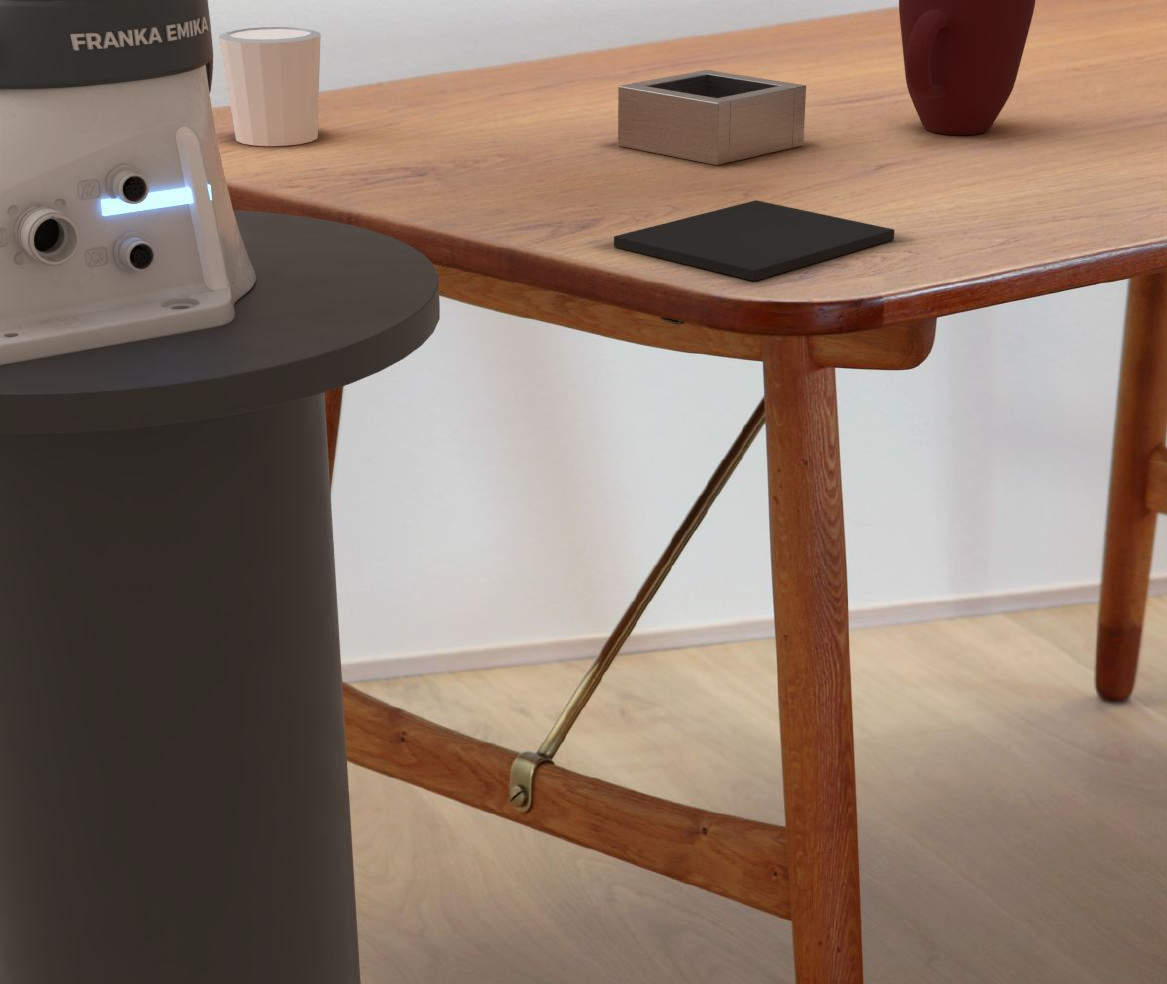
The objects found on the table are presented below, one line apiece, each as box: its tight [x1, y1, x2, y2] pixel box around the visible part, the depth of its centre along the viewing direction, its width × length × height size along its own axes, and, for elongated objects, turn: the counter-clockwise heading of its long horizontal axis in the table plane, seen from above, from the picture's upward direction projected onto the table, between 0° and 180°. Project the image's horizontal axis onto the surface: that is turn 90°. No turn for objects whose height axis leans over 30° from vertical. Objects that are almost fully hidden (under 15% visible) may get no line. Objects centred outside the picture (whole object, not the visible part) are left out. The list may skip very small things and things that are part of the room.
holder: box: [617, 69, 807, 166], centre depth 126 cm, size 9×9×4 cm
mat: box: [613, 199, 896, 282], centre depth 103 cm, size 12×10×1 cm
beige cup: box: [218, 26, 322, 147], centre depth 128 cm, size 7×7×7 cm
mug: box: [898, 0, 1036, 136], centre depth 128 cm, size 12×9×11 cm
